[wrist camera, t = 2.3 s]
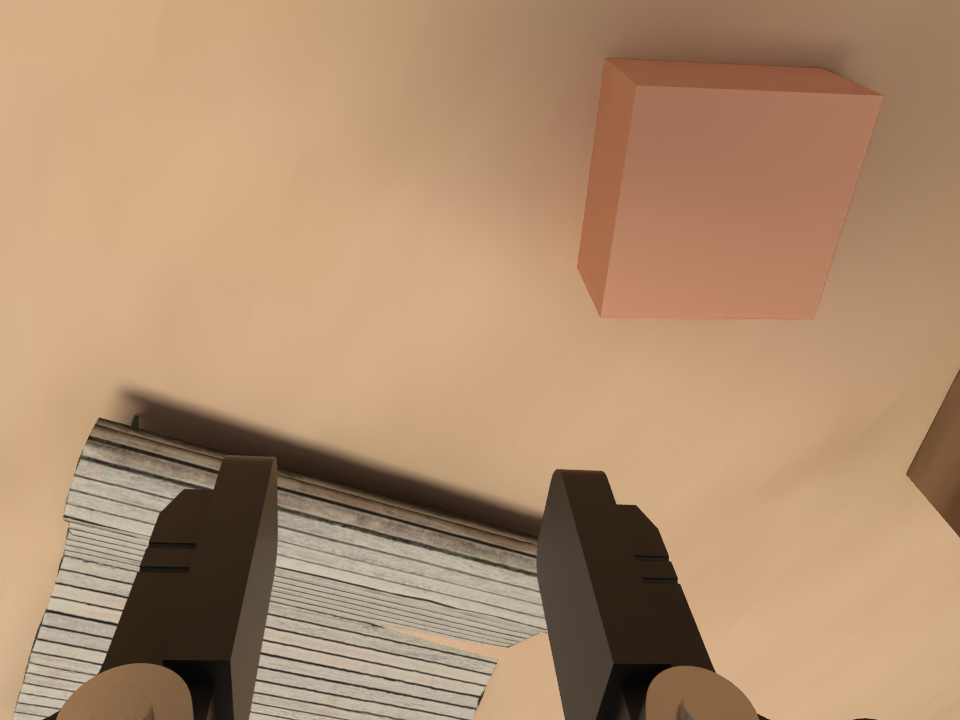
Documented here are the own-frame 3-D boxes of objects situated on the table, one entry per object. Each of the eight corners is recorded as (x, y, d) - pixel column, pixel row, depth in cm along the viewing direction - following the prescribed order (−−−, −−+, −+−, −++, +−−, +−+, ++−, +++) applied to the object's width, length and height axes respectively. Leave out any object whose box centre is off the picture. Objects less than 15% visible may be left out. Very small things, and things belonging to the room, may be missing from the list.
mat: (19, 712, 43) (-19, 797, 39) (115, 379, 33) (76, 447, 29) (409, 782, 50) (410, 860, 46) (589, 523, 40) (610, 595, 36)
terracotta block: (575, 264, 32) (600, 317, 28) (603, 56, 28) (636, 85, 24) (764, 268, 33) (813, 319, 29) (818, 66, 29) (884, 95, 25)
